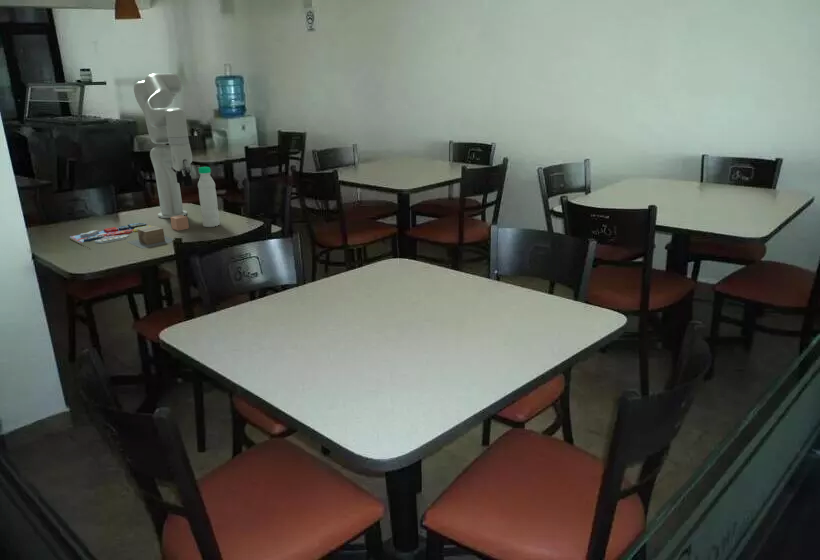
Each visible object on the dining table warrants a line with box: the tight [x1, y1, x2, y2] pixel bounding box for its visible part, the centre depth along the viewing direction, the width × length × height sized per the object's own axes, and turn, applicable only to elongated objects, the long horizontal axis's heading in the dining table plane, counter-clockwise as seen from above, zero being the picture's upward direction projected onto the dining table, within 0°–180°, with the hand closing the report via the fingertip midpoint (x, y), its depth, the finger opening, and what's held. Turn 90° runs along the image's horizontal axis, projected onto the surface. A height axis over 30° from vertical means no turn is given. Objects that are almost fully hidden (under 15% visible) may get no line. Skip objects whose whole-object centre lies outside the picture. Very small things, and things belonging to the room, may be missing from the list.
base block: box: [137, 225, 165, 245], centre depth 237 cm, size 7×7×5 cm
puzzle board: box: [69, 222, 152, 250], centre depth 250 cm, size 30×23×3 cm
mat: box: [127, 235, 174, 249], centre depth 238 cm, size 14×14×1 cm
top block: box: [169, 215, 190, 232], centre depth 256 cm, size 5×5×6 cm
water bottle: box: [197, 166, 221, 228], centre depth 260 cm, size 7×7×25 cm
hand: (184, 184), depth 250 cm, fingers open, 9 cm apart
